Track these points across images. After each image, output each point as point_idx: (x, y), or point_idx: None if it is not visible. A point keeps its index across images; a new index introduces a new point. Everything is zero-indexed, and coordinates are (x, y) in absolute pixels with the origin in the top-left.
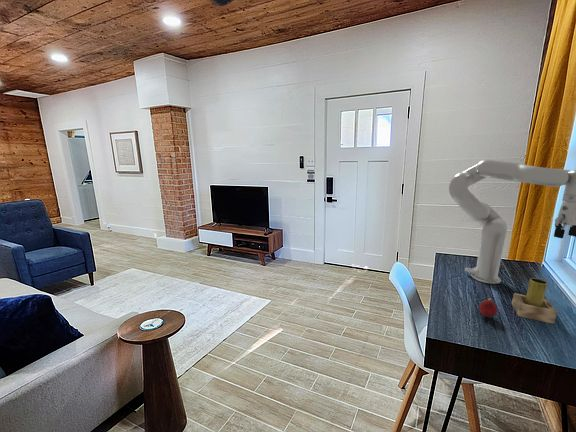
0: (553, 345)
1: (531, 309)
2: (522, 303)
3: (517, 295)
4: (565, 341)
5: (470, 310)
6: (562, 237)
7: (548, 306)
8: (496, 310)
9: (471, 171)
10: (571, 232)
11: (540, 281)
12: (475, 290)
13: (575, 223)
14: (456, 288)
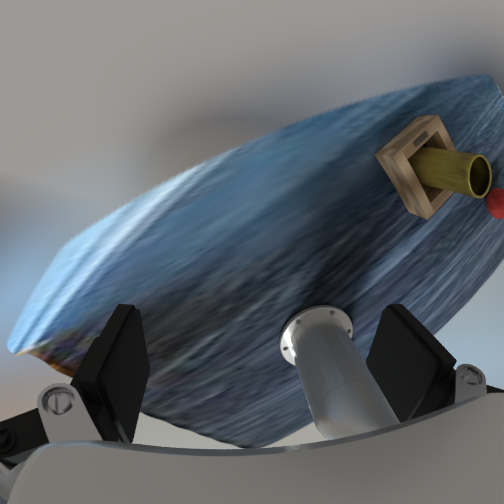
0: (474, 97)
1: None
2: None
3: (434, 206)
4: (452, 87)
5: (485, 226)
6: (402, 307)
7: (429, 136)
8: (502, 189)
9: None
10: (137, 377)
11: (465, 176)
12: (410, 288)
13: (422, 453)
14: (431, 305)
